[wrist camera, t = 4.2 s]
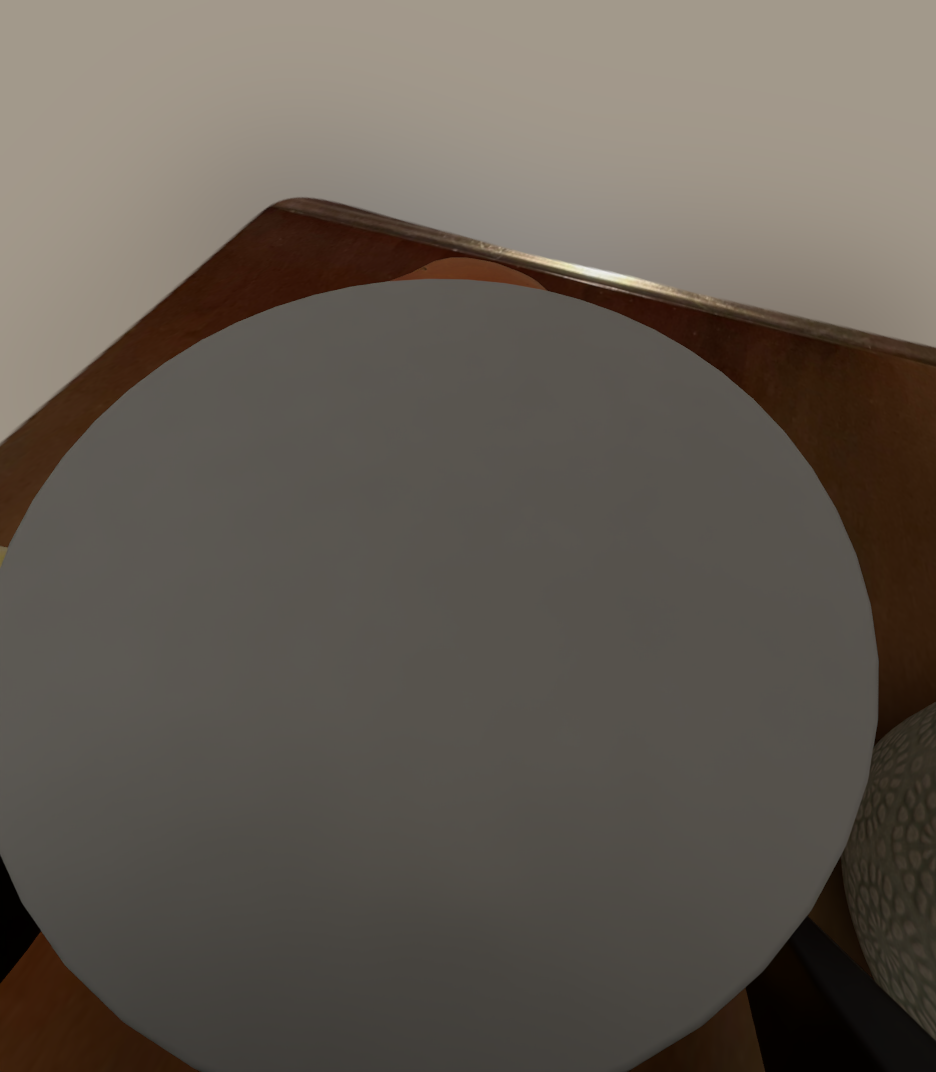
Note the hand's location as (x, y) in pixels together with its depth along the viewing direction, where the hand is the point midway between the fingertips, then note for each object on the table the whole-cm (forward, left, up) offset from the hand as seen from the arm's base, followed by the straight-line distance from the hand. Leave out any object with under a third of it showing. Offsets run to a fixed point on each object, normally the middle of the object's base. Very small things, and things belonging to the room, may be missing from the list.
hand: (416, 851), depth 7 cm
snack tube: (+2, -2, -10) cm, 10 cm away
